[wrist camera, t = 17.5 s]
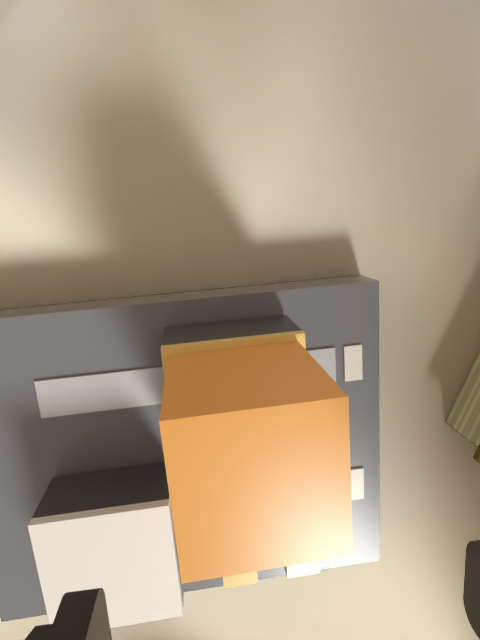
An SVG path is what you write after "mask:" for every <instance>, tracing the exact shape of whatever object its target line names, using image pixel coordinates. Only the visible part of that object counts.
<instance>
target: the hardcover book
mask: <svg viewBox="0 0 480 640" xmlns="http://www.w3.org/2000/svg"><path fill="white" fill-rule="evenodd" d="M445 422H446V423H447V424H448V425H450V426H451V427H452V428H453V429H455V430H456V431H457V432H459V433H460V434H461V435H462V436H464V437H465V438H466V439H467V440H469V441H470V442H471V443H473V444H474V445H475V446H476V447H478V448H477V450H476V452H475V454H474V456H473V458H474V459H475V460H476V461H477V462H479V463H480V351H479V353H478V355H477V357H476V359H475V361H474V363H473V365H472V367H471V369H470V371H469V373H468V375H467V377H466V379H465V382H464V384H463V386H462V388H461V390H460V392H459V394H458V396H457V398H456V400H455V402H454V404H453V406H452V408H451V410H450V412H449V414H448V416H447V419H446V421H445Z"/></svg>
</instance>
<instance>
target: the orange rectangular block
mask: <svg viewBox="0 0 480 640" xmlns="http://www.w3.org/2000/svg"><path fill="white" fill-rule="evenodd" d="M159 425H160V432H161V439H162V446H163V453H164V460H165V468H166V475H167V482H168V489H169V496H170V504H171V511H172V518H173V525H174V532H175V539H176V547H177V554H178V561H179V568H180V575H181V582H182V584H183V583H189V582H195V581H201V580H207V579H213V578H219V577H225V576H231V575H237V574H243V573H249V572H255V571H261V570H267V569H273V568H279V567H285V566H291V565H297V564H303V563H309V562H315V561H321V560H327V559H333V558H339V557H345V556H351V555H353V533H352V499H351V464H350V429H349V396H348V395H347V394H346V393H345V392H344V391H343V390H342V389H341V388H340V387H339V385H338V384H337V383H336V382H335V381H334V380H333V379H332V378H331V377H330V376H329V374H328V373H327V372H326V371H325V370H324V369H323V368H322V367H321V366H320V365H319V363H318V362H317V361H316V360H315V359H314V358H313V357H312V356H311V355H310V354H309V353H308V351H307V350H306V349H305V348H304V347H303V346H302V345H301V344H300V343H299V342H298V340H296V341H287V342H279V343H270V344H262V345H253V346H244V347H236V348H227V349H219V350H210V351H202V352H193V353H184V354H176V355H168V357H167V365H166V372H165V380H164V387H163V395H162V403H161V410H160V418H159Z"/></svg>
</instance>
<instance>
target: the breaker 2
mask: <svg viewBox="0 0 480 640" xmlns="http://www.w3.org/2000/svg"><path fill="white" fill-rule="evenodd" d="M296 340H298V342H299V343H300V344H301V345H302V346H303V347H304V348H305V349H306V341H305V333H304V332H303V331H302V330H301V329H300V328H299V327H298V326H297V325H296V324H295V323H294V322H293V321H292V320H291V319H290V318H289V317H288V316H287V315H280V316H271V317H261V318H251V319H242V320H232V321H223V322H213V323H203V324H194V325H184V326H174V327H165V328H164V333H163V338H162V344H161V357H162V365H163V373H164V380H165V372H166V365H167V357H168V355H176V354H184V353H193V352H202V351H210V350H219V349H227V348H236V347H244V346H253V345H262V344H270V343H279V342H287V341H296Z"/></svg>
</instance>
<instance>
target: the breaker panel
mask: <svg viewBox="0 0 480 640" xmlns="http://www.w3.org/2000/svg"><path fill="white" fill-rule="evenodd" d="M280 315H287V316H288V317H289V318H290V319H291V320H292V321H293V322H294V323H295V324H296V325H297V326H298V327H299V328H300V329H301V330H302V331H303V332H304V333H305V341H306V350H307V351H308V353H309V354H310V355H311V356H312V357H313V358H314V359H315V360H316V361H317V362H318V363H319V365H320V366H321V367H322V368H323V369H324V370H325V371H326V372H327V373H328V374H329V376H330V377H331V378H332V379H333V380H334V381H335V382H336V383H337V384H338V385H339V387H340V388H341V389H342V390H343V391H344V392H345V393H346V394H347V395H348V396H349V429H350V464H351V499H352V533H353V555H351V556H345V557H339V558H333V559H327V560H321V561H315V562H309V563H303V564H297V565H291V566H285V567H279V568H273V569H267V570H261V571H255V572H249V573H243V574H237V575H231V576H225V577H219V578H213V579H207V580H201V581H195V582H189V583H183V592H187V591H194V590H200V589H206V588H212V587H218V586H224V589H226V588H233V587H239V586H245V585H251V584H257V583H258V580H261V579H267V578H274V577H280V576H287V579H288V578H294V577H300V576H306V575H312V574H318V573H320V570H323V569H329V568H335V567H341V566H347V565H353V564H360V563H366V562H372V561H378V560H380V499H379V281H377V280H374V279H371V278H368V277H365V276H362V275H356V276H346V277H336V278H325V279H315V280H304V281H294V282H284V283H273V284H263V285H252V286H242V287H232V288H221V289H211V290H201V291H190V292H180V293H169V294H159V295H149V296H138V297H128V298H117V299H107V300H97V301H86V302H76V303H66V304H55V305H45V306H34V307H24V308H14V309H3V310H0V617H1V621H2V622H3V621H9V620H15V619H22V618H28V617H34V616H40V615H46V614H47V611H46V607H45V602H44V598H43V593H42V588H41V584H40V579H39V575H38V570H37V566H36V561H35V557H34V552H33V548H32V543H31V539H30V534H29V530H28V524H29V522H30V520H31V518H32V516H33V514H34V512H35V511H36V509H37V507H38V505H39V503H40V501H41V499H42V497H43V495H44V493H45V491H46V489H47V487H48V485H49V483H50V481H51V479H52V478H55V477H63V476H70V475H78V474H85V473H93V472H100V471H108V470H115V469H123V468H130V467H138V466H145V465H153V464H160V463H165V460H164V453H163V446H162V439H161V432H160V425H159V418H160V410H161V403H162V395H163V387H164V373H163V365H162V357H161V344H162V338H163V333H164V328H165V327H174V326H184V325H194V324H203V323H213V322H223V321H232V320H242V319H251V318H261V317H271V316H280Z"/></svg>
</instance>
